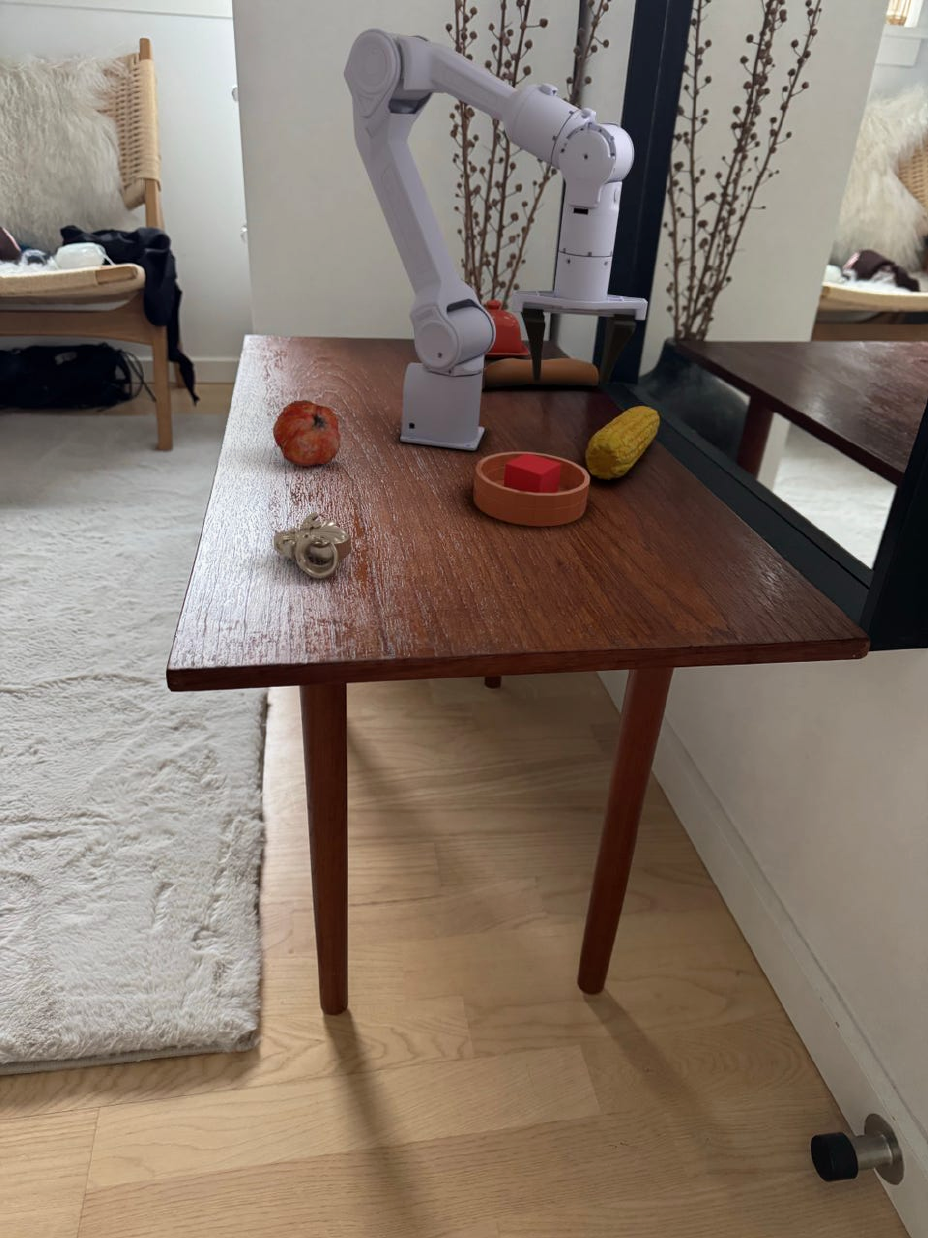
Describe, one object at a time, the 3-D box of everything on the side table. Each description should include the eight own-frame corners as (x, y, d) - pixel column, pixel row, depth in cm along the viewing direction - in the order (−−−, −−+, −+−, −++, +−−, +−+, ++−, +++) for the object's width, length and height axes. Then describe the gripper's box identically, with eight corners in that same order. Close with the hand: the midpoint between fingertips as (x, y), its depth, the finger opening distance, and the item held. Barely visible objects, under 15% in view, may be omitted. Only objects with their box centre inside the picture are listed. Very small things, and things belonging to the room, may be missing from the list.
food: (623, 492, 101) (632, 442, 98) (575, 481, 103) (583, 432, 99) (662, 438, 118) (671, 394, 115) (621, 430, 119) (628, 386, 116)
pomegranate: (266, 477, 103) (284, 451, 94) (263, 416, 103) (280, 384, 94) (329, 479, 106) (352, 454, 97) (325, 419, 106) (348, 389, 97)
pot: (464, 517, 92) (467, 485, 90) (482, 474, 102) (484, 445, 100) (582, 533, 91) (587, 501, 89) (587, 488, 101) (592, 459, 99)
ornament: (278, 540, 84) (277, 504, 82) (351, 542, 85) (352, 507, 83) (269, 580, 77) (267, 543, 76) (348, 583, 78) (348, 545, 76)
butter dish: (463, 361, 144) (467, 306, 139) (450, 342, 153) (453, 291, 149) (531, 362, 146) (537, 308, 142) (514, 344, 156) (519, 293, 151)
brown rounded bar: (579, 372, 141) (592, 341, 135) (589, 407, 138) (603, 376, 132) (469, 372, 136) (478, 340, 131) (477, 408, 133) (486, 376, 127)
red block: (501, 498, 96) (505, 463, 93) (522, 486, 99) (526, 452, 97) (536, 510, 94) (541, 474, 92) (557, 497, 97) (561, 463, 95)
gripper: (645, 251, 98) (626, 374, 105) (514, 242, 97) (504, 367, 104) (658, 261, 92) (637, 391, 99) (519, 252, 91) (507, 384, 98)
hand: (569, 380), depth 101 cm, fingers open, 7 cm apart
